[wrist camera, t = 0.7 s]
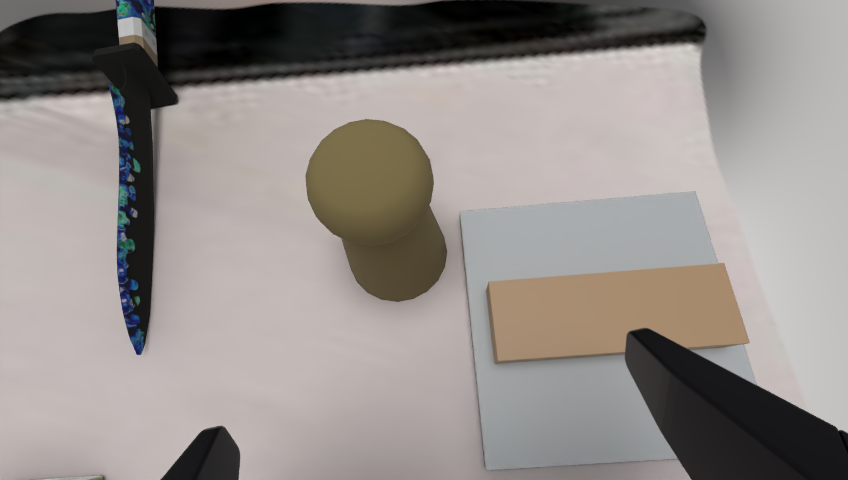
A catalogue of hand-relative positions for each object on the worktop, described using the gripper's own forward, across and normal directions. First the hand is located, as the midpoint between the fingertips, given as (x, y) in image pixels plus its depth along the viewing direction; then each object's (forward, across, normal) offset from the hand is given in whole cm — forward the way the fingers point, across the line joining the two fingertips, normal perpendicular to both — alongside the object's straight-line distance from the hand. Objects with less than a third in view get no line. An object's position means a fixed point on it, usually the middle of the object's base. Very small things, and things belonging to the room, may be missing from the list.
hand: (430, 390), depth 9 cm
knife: (+26, +16, -1) cm, 31 cm away
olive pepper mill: (+16, +1, +6) cm, 17 cm away
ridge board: (+11, -9, +10) cm, 18 cm away
